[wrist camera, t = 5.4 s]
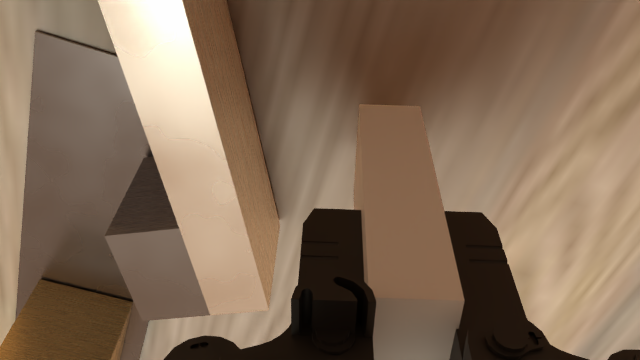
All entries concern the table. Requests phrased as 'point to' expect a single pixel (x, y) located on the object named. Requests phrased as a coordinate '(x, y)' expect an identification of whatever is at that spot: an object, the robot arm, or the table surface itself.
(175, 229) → the jaw
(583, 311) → the table surface
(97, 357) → the block
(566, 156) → the table surface
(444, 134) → the table surface
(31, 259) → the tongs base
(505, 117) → the table surface
